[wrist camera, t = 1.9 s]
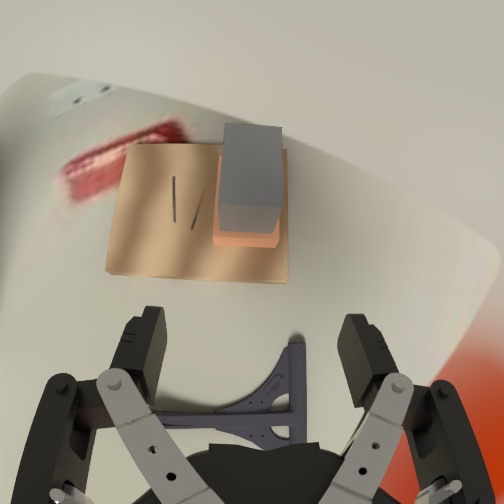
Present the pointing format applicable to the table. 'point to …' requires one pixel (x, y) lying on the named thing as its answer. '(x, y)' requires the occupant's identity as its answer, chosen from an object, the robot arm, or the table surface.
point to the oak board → (183, 220)
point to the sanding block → (249, 187)
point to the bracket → (259, 407)
